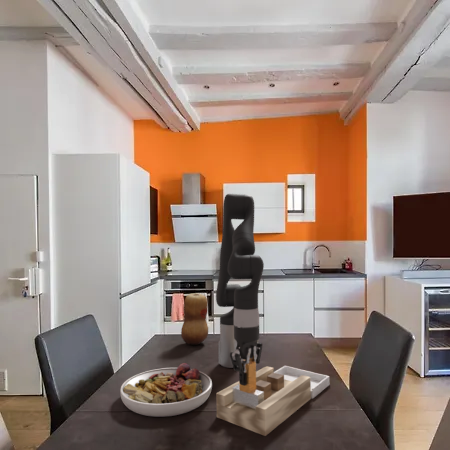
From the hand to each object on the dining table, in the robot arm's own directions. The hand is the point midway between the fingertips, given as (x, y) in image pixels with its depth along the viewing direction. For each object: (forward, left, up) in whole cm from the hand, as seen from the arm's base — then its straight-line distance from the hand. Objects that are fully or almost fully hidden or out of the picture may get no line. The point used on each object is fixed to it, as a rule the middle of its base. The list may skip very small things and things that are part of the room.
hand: (247, 382), depth 106 cm
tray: (0, +31, -11) cm, 33 cm away
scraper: (0, 0, -6) cm, 6 cm away
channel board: (0, +10, -11) cm, 15 cm away
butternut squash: (-64, +46, -11) cm, 80 cm away
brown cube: (0, +16, -7) cm, 17 cm away
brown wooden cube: (0, +8, -7) cm, 11 cm away
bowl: (-30, -4, -12) cm, 32 cm away
